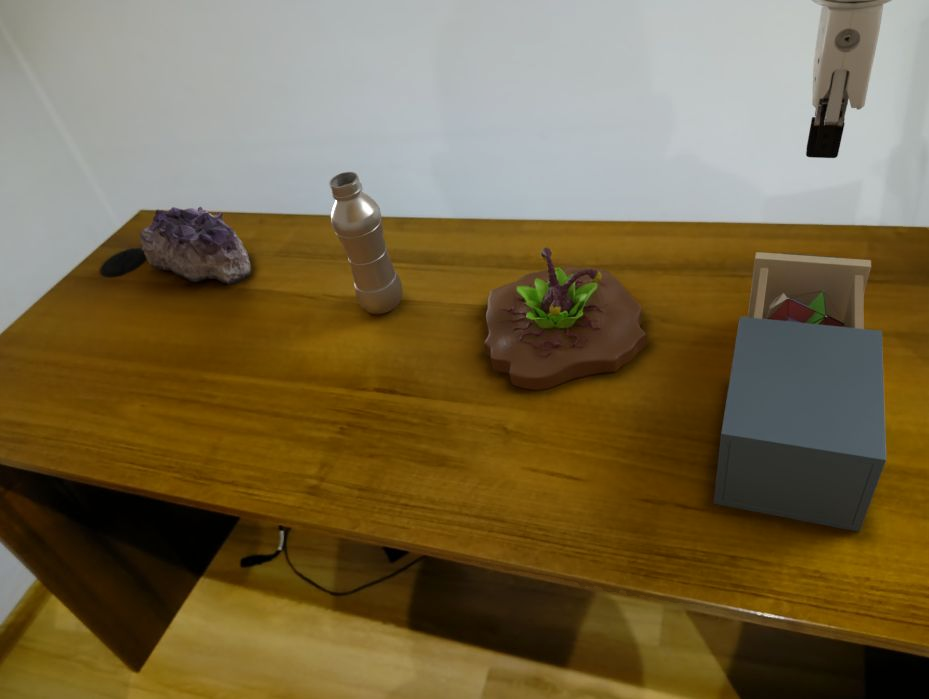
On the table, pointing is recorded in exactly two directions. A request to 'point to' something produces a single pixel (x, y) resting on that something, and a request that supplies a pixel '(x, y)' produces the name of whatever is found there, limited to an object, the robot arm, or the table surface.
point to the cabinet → (803, 422)
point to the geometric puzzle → (803, 311)
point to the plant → (562, 326)
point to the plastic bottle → (364, 245)
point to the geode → (195, 246)
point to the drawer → (810, 284)
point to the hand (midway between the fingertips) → (821, 153)
